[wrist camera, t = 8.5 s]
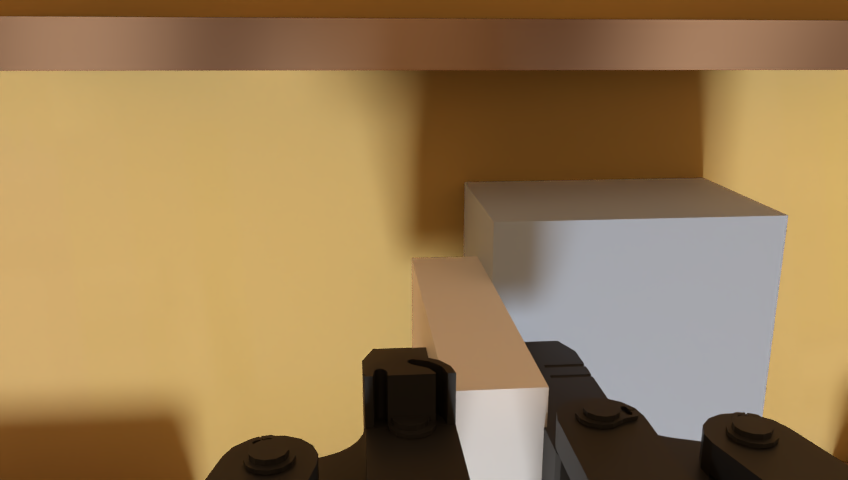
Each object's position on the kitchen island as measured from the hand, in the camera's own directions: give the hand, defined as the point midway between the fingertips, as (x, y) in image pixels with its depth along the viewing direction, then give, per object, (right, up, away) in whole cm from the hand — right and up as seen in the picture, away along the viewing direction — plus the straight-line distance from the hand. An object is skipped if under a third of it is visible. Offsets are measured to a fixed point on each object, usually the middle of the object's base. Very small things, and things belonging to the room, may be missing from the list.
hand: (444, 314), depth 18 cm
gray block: (+4, 0, +3) cm, 4 cm away
